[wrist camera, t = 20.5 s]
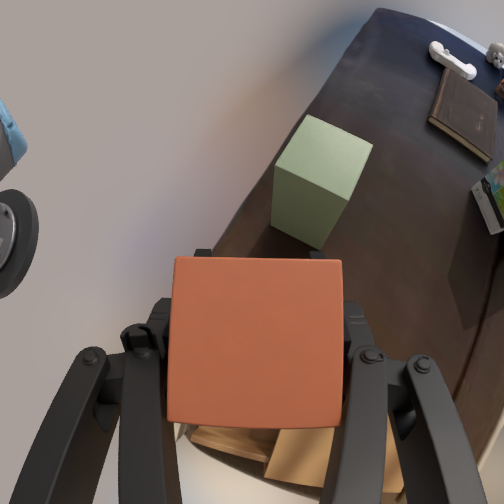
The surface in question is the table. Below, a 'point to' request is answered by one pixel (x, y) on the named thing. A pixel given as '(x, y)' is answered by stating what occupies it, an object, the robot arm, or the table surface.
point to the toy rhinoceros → (496, 54)
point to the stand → (316, 180)
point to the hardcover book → (465, 115)
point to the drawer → (233, 440)
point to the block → (256, 343)
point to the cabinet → (320, 458)
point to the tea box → (492, 198)
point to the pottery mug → (500, 90)
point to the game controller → (451, 61)
